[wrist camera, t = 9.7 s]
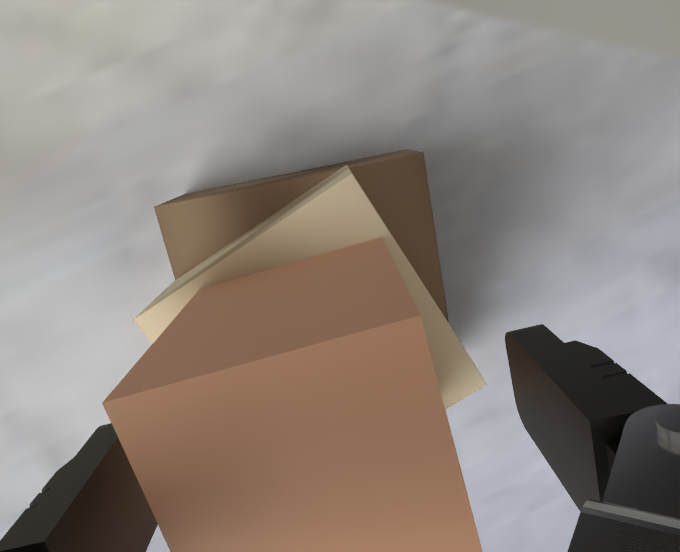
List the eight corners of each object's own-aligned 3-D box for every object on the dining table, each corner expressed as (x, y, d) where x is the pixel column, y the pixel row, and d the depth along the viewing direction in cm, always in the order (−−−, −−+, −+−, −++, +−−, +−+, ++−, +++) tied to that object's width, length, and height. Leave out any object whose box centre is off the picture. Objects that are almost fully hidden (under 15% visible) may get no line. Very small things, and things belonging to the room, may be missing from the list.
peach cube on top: (382, 236, 13) (420, 315, 8) (427, 403, 15) (489, 578, 9) (199, 288, 14) (102, 403, 8) (259, 447, 15) (213, 645, 9)
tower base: (405, 149, 21) (423, 152, 17) (438, 353, 23) (459, 398, 19) (186, 193, 21) (154, 207, 17) (240, 390, 23) (222, 441, 19)
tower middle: (346, 164, 17) (351, 173, 13) (454, 332, 18) (487, 384, 15) (176, 279, 18) (132, 320, 14) (292, 429, 19) (283, 503, 15)
